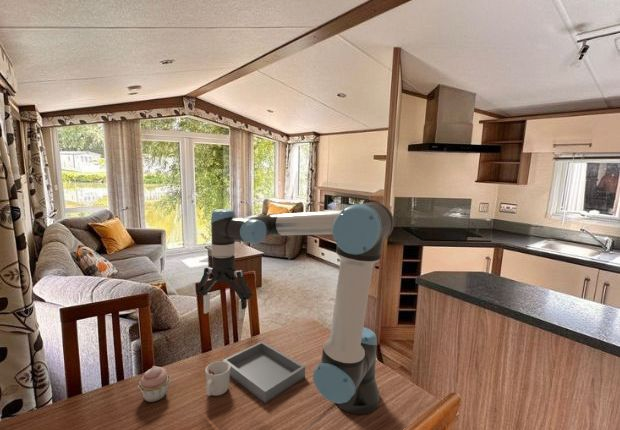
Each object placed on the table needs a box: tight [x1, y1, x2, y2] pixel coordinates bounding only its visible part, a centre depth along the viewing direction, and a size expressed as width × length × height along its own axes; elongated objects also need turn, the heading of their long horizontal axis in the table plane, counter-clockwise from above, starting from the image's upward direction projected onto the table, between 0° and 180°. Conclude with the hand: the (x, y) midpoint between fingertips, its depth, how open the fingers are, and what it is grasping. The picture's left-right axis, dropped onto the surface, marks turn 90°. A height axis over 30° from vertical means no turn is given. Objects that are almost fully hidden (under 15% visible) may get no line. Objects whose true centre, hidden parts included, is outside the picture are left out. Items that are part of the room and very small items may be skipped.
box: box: [222, 341, 306, 404], centre depth 112 cm, size 24×18×4 cm
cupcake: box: [137, 365, 172, 403], centre depth 99 cm, size 9×9×10 cm
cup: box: [204, 360, 231, 397], centre depth 101 cm, size 11×8×8 cm
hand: (224, 314), depth 109 cm, fingers open, 13 cm apart
